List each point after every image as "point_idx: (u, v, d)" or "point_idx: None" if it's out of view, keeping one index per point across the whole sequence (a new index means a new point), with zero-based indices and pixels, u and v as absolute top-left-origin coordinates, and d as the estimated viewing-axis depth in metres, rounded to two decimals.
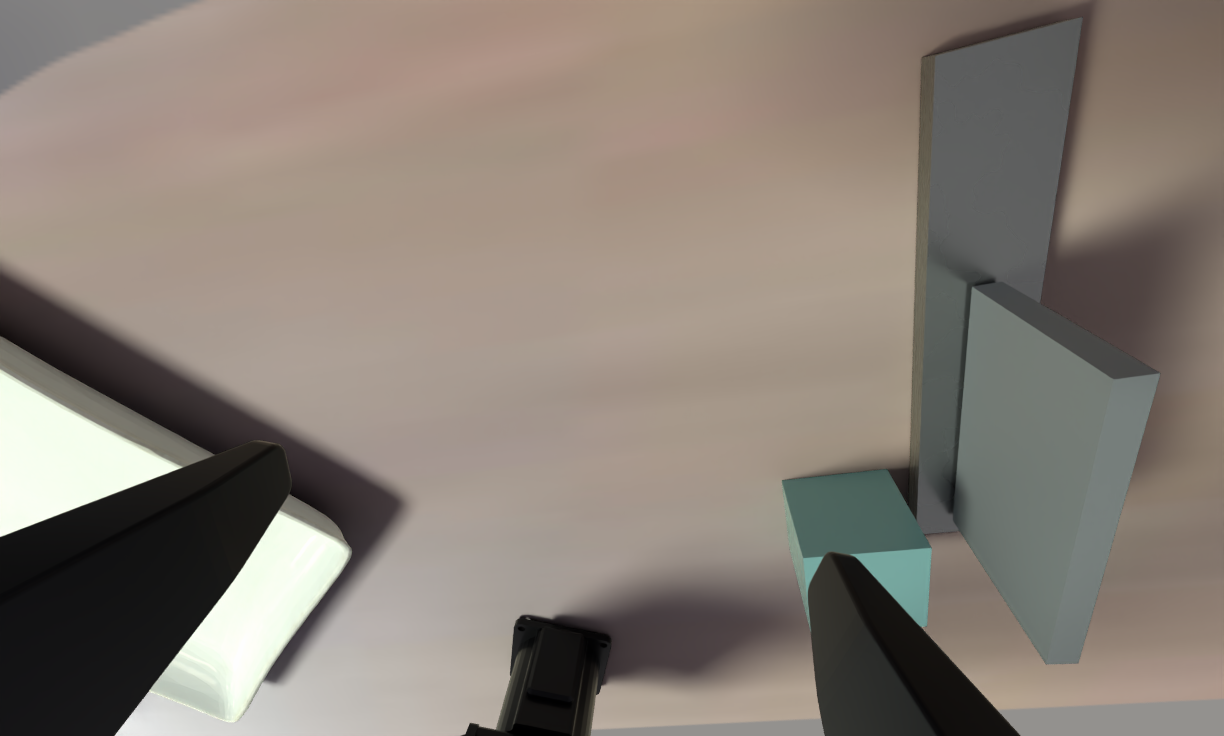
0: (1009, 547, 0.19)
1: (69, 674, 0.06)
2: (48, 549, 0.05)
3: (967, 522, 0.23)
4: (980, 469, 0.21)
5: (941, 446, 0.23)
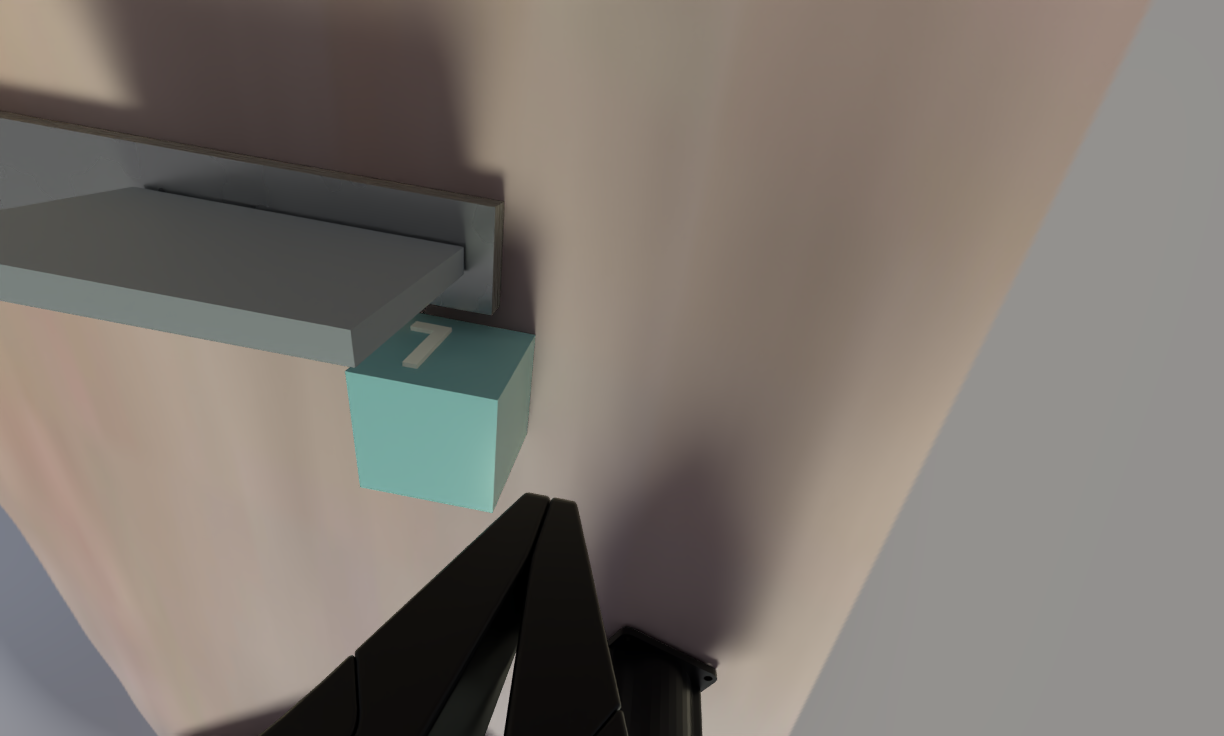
0: None
1: None
2: (447, 629, 0.05)
3: None
4: None
5: None
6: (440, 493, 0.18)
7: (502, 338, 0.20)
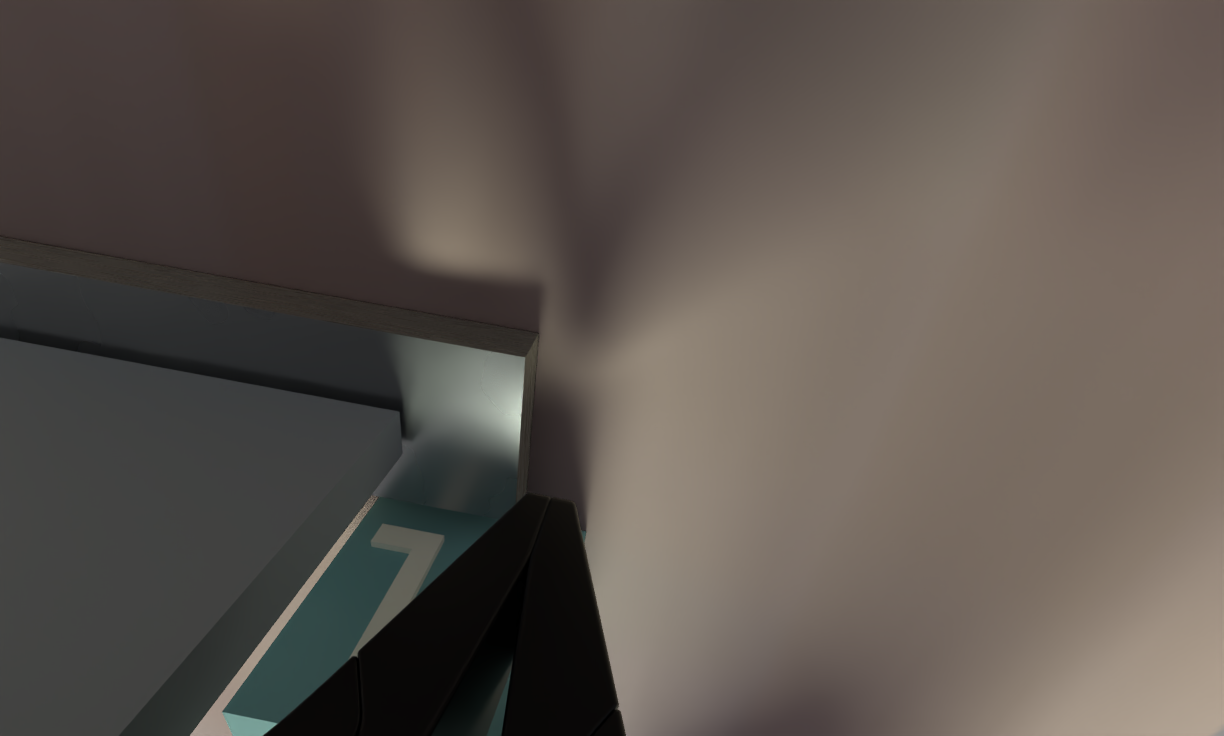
0: None
1: None
2: (449, 630, 0.05)
3: None
4: None
5: None
6: None
7: None
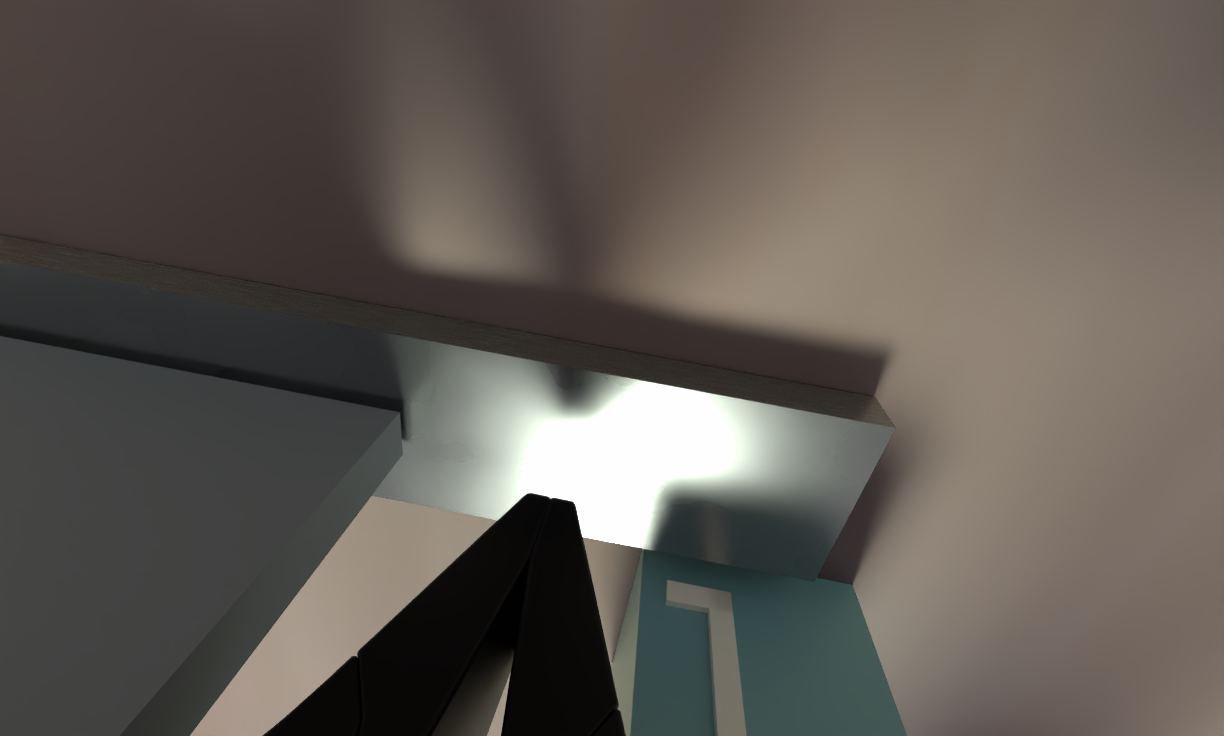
0: None
1: None
2: (449, 630, 0.05)
3: None
4: None
5: None
6: None
7: (814, 606, 0.11)
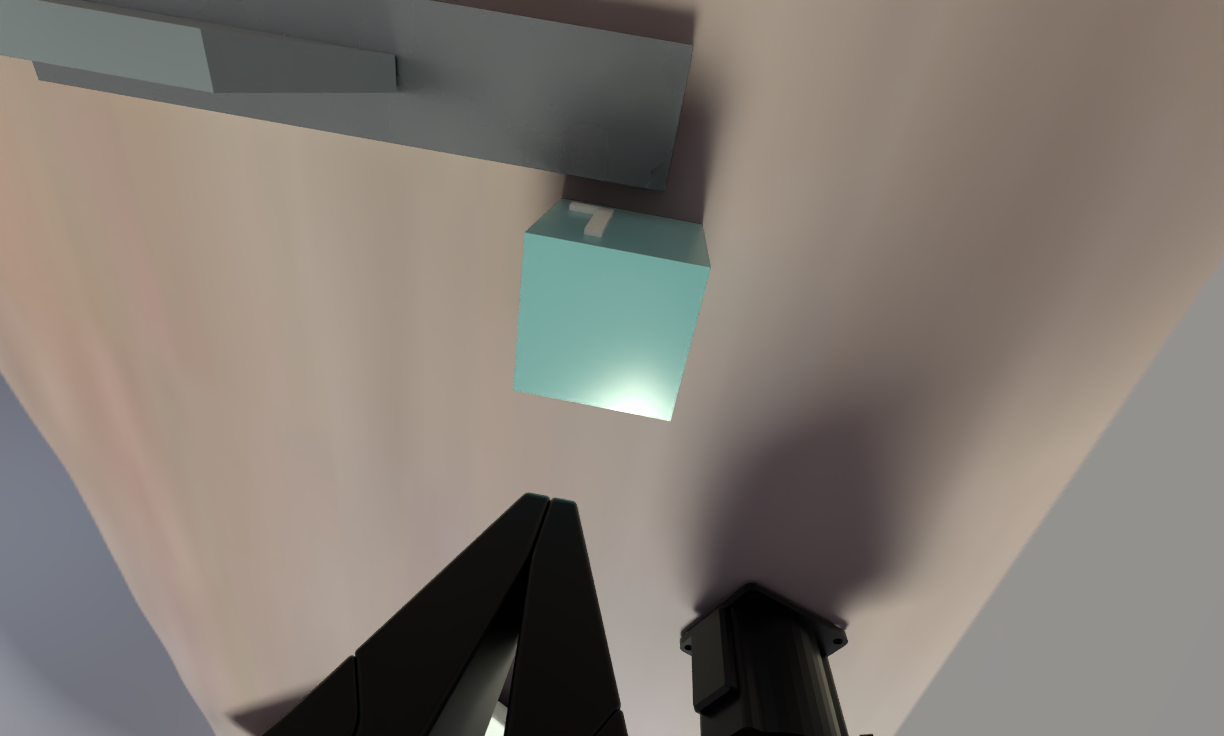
0: None
1: None
2: (447, 629, 0.05)
3: None
4: None
5: (501, 131, 0.16)
6: (610, 396, 0.15)
7: (670, 224, 0.17)
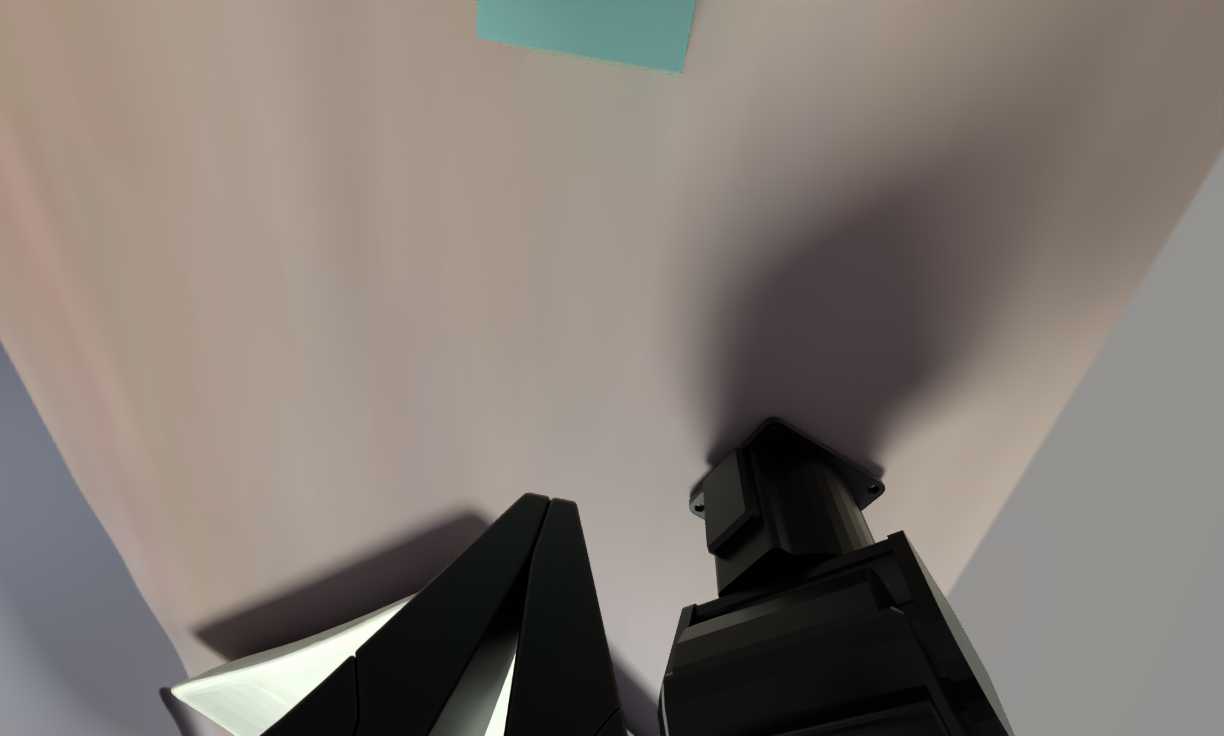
0: None
1: None
2: (447, 629, 0.05)
3: None
4: None
5: None
6: (604, 35, 0.12)
7: None
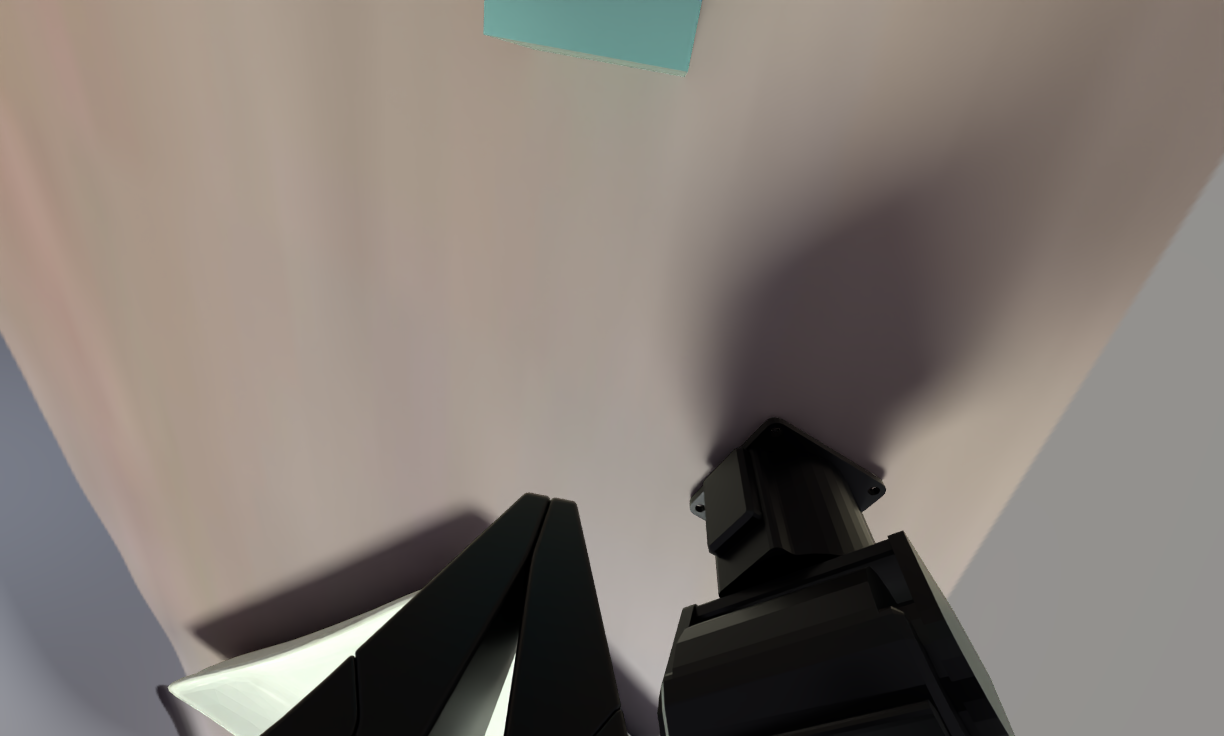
0: None
1: None
2: (447, 629, 0.05)
3: None
4: None
5: None
6: (610, 34, 0.12)
7: None
